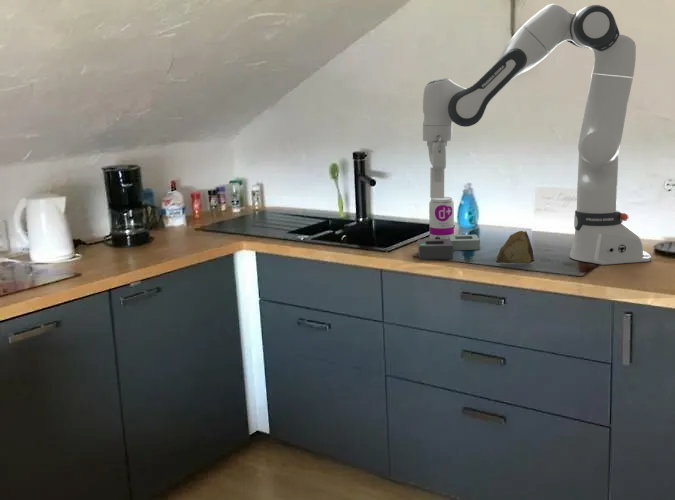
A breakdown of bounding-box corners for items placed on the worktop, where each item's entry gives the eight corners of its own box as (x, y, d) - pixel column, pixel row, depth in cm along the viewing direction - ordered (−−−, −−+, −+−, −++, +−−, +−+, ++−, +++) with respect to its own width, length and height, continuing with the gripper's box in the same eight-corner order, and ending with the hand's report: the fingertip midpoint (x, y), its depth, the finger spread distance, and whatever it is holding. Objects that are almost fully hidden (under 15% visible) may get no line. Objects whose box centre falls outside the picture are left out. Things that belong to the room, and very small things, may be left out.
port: (449, 254, 226) (449, 237, 225) (452, 261, 216) (452, 244, 215) (417, 255, 227) (417, 238, 226) (419, 262, 217) (419, 245, 216)
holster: (476, 246, 236) (476, 234, 235) (479, 252, 227) (479, 240, 226) (448, 247, 236) (448, 235, 235) (451, 253, 228) (450, 240, 227)
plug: (443, 196, 221) (443, 167, 219) (444, 198, 218) (444, 168, 216) (430, 196, 221) (430, 167, 219) (430, 198, 218) (430, 168, 216)
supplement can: (455, 244, 241) (455, 199, 237) (431, 244, 241) (430, 200, 238) (452, 239, 249) (452, 196, 245) (428, 240, 249) (427, 197, 246)
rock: (489, 257, 210) (522, 256, 204) (493, 231, 213) (525, 229, 208) (502, 272, 218) (535, 271, 212) (506, 247, 221) (538, 245, 216)
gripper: (451, 136, 205) (450, 185, 208) (445, 132, 225) (445, 176, 228) (428, 137, 205) (428, 185, 208) (425, 132, 225) (425, 176, 228)
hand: (437, 180), depth 218 cm, fingers closed on plug, 3 cm apart
